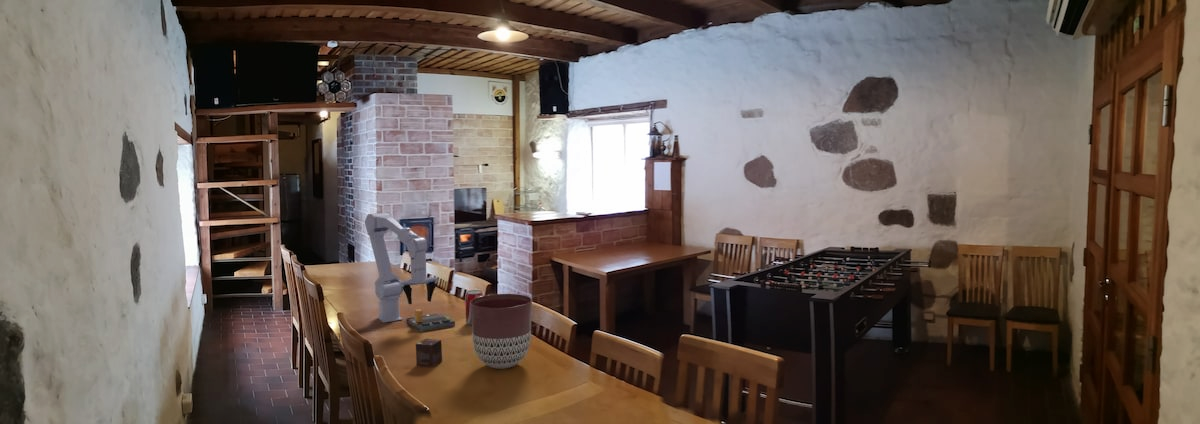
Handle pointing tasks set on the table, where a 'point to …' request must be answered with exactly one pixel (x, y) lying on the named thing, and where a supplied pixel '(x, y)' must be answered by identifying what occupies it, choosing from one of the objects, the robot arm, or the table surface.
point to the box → (429, 352)
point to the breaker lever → (418, 315)
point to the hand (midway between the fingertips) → (419, 302)
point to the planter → (501, 328)
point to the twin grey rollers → (423, 316)
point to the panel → (432, 323)
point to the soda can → (468, 298)
